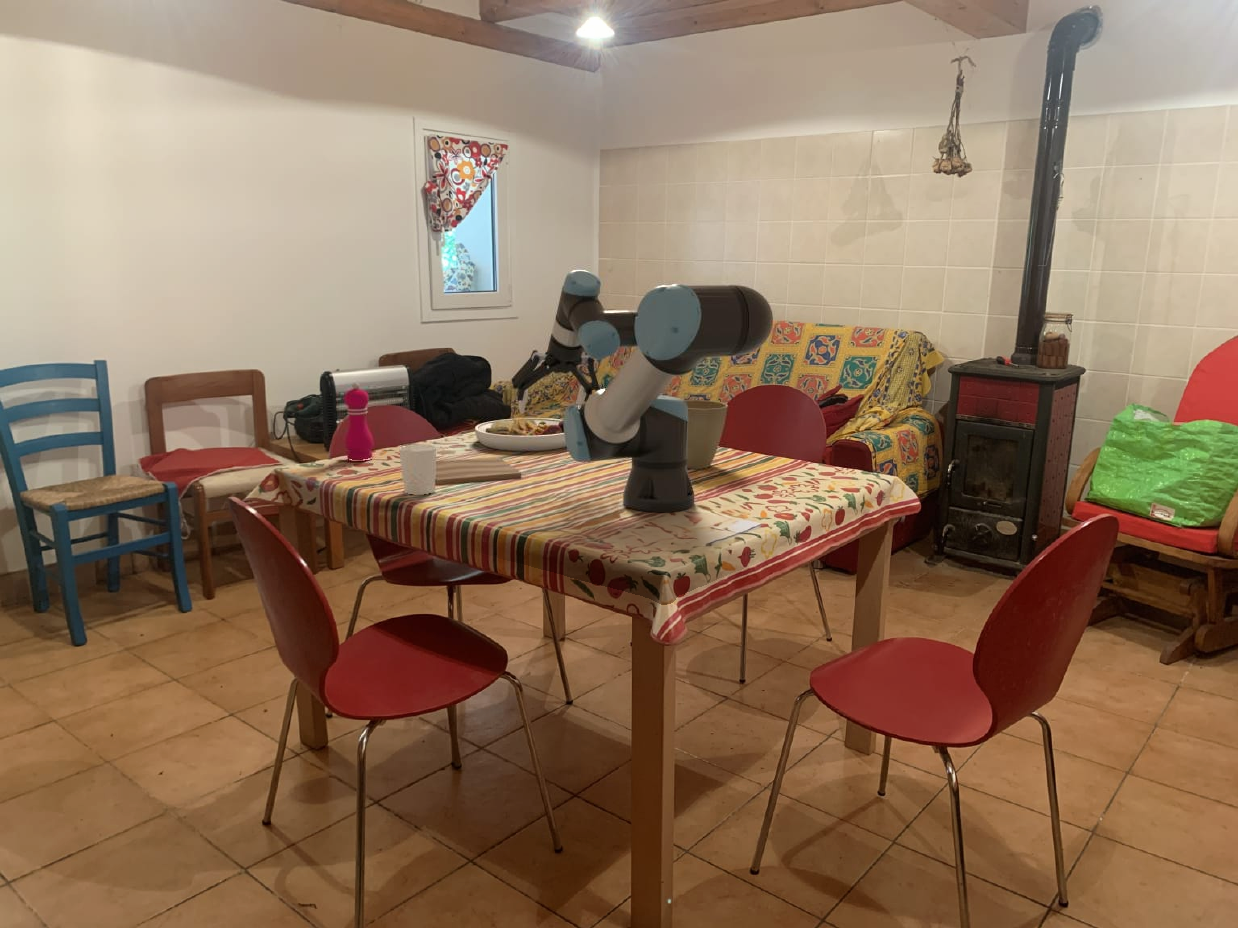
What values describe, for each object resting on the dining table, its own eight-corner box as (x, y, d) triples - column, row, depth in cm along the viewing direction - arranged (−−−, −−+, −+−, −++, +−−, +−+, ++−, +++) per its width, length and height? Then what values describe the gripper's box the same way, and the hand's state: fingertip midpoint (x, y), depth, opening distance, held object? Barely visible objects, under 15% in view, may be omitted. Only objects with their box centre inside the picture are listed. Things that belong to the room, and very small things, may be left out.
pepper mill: (367, 462, 227) (362, 384, 223) (340, 461, 228) (335, 384, 224) (379, 457, 234) (375, 381, 230) (353, 456, 235) (348, 380, 231)
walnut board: (521, 477, 212) (521, 472, 212) (437, 484, 204) (437, 479, 204) (498, 461, 230) (498, 456, 230) (420, 467, 222) (420, 462, 222)
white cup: (429, 497, 193) (427, 452, 191) (395, 495, 195) (393, 450, 193) (443, 488, 201) (441, 445, 199) (410, 486, 202) (408, 443, 200)
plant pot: (669, 472, 218) (670, 408, 215) (664, 460, 233) (665, 399, 229) (730, 472, 219) (732, 408, 215) (721, 460, 233) (723, 400, 230)
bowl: (456, 450, 246) (456, 422, 244) (502, 432, 274) (501, 406, 272) (558, 457, 237) (558, 428, 236) (594, 438, 265) (594, 411, 264)
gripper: (618, 329, 199) (596, 400, 213) (508, 323, 190) (493, 398, 204) (626, 350, 194) (604, 421, 208) (515, 345, 185) (499, 420, 199)
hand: (549, 410), depth 206 cm, fingers open, 13 cm apart
